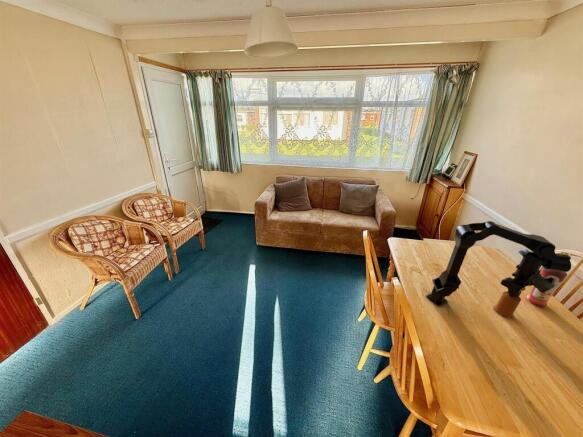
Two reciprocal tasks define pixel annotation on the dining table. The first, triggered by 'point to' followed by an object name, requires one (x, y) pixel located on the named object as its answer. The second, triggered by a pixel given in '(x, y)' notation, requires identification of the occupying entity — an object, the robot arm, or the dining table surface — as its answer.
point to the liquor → (542, 298)
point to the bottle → (507, 304)
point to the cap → (516, 294)
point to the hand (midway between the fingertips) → (513, 294)
